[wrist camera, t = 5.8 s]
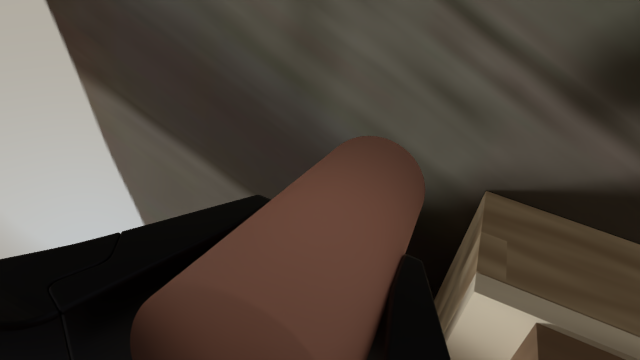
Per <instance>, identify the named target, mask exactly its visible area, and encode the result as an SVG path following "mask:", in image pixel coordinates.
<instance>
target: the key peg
mask: <svg viewBox="0 0 640 360" xmlns="http://www.w3.org/2000/svg"><path fill="white" fill-rule="evenodd" d="M424 198H425V183H424V178H423V175H422V172H421V169H420V167H419V165H418V164H417V162H416V161H415V159H414V158H413V157H412V156H411V154H410V153H409V152H408V151H406V150H405V149H404V148H403V147H401V146H400V145H398V144H397V143H395V142H393V141H391V140H388V139H385V138H381V137H377V136H362V137H356V138H353V139H350V140H348V141H346V142H344V143H342V144H341V145H339V146H338V147H337V148H336V149H334V150H333V151H332V152H331V153H329V154H328V155H327V156H326V157H324V158H323V159H322V160H321V161H319V162H318V163H317V164H316V165H314V166H313V167H312V168H311V169H309V170H308V171H307V172H306V173H304V174H303V175H302V176H301V177H299V178H298V179H297V180H296V181H294V182H293V183H292V184H291V185H289V186H288V187H287V188H286V189H284V190H283V191H282V192H281V193H279V194H278V195H277V196H276V197H274V198H273V199H272V200H271V201H269V202H268V203H267V204H266V205H264V206H263V207H262V208H261V209H260V210H258V211H257V212H256V213H255V214H253V215H252V216H251V217H250V218H248V219H247V220H246V221H245V222H243V223H242V224H241V225H240V226H238V227H237V228H236V229H235V230H233V231H232V232H231V233H230V234H228V235H227V236H226V237H225V238H223V239H222V240H221V241H220V242H218V243H217V244H216V245H215V246H213V247H212V248H211V249H210V250H208V251H207V252H206V253H205V254H203V255H202V256H201V257H200V258H198V259H197V260H196V261H195V262H193V263H192V264H191V265H190V266H188V267H187V268H186V269H185V270H183V271H182V272H181V273H180V274H178V275H177V276H176V277H175V278H173V279H172V280H171V281H170V282H168V283H167V284H166V285H165V286H163V287H162V288H161V289H160V290H158V291H157V292H156V293H155V294H153V295H152V296H151V297H150V298H149V299H148V300H147V301H146V302H144V303H143V304H142V306H141V307H140V309H139V310H138V312H137V314H136V316H135V318H134V320H133V324H132V328H131V335H130V348H131V356H132V360H367V358H368V355H369V353H370V350H371V347H372V344H373V342H374V339H375V336H376V333H377V330H378V328H379V325H380V322H381V319H382V317H383V314H384V310H385V307H386V303H387V300H388V296H389V293H390V290H391V287H392V284H393V281H394V279H395V276H396V273H397V271H398V268H399V265H400V263H401V260H402V257H403V255H405V253H406V250H407V247H408V244H409V242H410V239H411V236H412V233H413V230H414V228H415V225H416V222H417V219H418V216H419V214H420V211H421V208H422V205H423V202H424Z"/></svg>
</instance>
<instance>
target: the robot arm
mask: <svg viewBox="0 0 640 360" xmlns="http://www.w3.org/2000/svg"><path fill="white" fill-rule="evenodd" d="M269 201H271V199H269V198H266V197H264V196H261V195H255V196H251V197H247V198H244V199H240V200H236V201H233V202H229V203H225V204H222V205H218V206H214V207H211V208H207V209H203V210H200V211H196V212H192V213H189V214H185V215H181V216H178V217H174V218H170V219H167V220H163V221H159V222H156V223H152V224H148V225H145V226H141V227H138V228H133V229H130V230H126V231H123V232H122V233H121V234H120V233H115V234H112V235H108V236H104V237H100V238H96V239H92V240H88V241H85V242H80V243H76V244H72V245H68V246H63V247H58V248H54V249H49V250H44V251H40V252H34V253H29V254H24V255H20V256H14V257H9V258H5V259H0V360H132V356H131V348H130V335H131V328H132V324H133V320H134V318H135V316H136V314H137V312H138V310H139V309H140V307H141V306H142V304H143V303H144V302H146V301H147V300H148V299H149V298H150V297H151V296H152V295H153V294H155V293H156V292H157V291H158V290H160V289H161V288H162V287H163V286H165V285H166V284H167V283H168V282H170V281H171V280H172V279H173V278H175V277H176V276H177V275H178V274H180V273H181V272H182V271H183V270H185V269H186V268H187V267H188V266H190V265H191V264H192V263H193V262H195V261H196V260H197V259H198V258H200V257H201V256H202V255H203V254H205V253H206V252H207V251H208V250H210V249H211V248H212V247H213V246H215V245H216V244H217V243H218V242H220V241H221V240H222V239H223V238H225V237H226V236H227V235H228V234H230V233H231V232H232V231H233V230H235V229H236V228H237V227H238V226H240V225H241V224H242V223H243V222H245V221H246V220H247V219H248V218H250V217H251V216H252V215H253V214H255V213H256V212H257V211H258V210H260V209H261V208H262V207H263V206H264V205H266V204H267V203H268V202H269ZM367 360H451V358H450V355H449V351H448V348H447V344H446V341H445V338H444V334H443V331H442V327H441V324H440V320H439V317H438V313H437V310H436V307H435V303H434V300H433V296H432V293H431V289H430V286H429V282H428V279H427V276H426V272H425V269H424V265H423V262H422V261H421V260H420V259H417V258H415V257H412V256H410V255H407V254H405V255H403V257H402V260H401V263H400V265H399V268H398V271H397V273H396V276H395V279H394V281H393V284H392V287H391V290H390V293H389V296H388V300H387V303H386V307H385V310H384V314H383V317H382V319H381V322H380V325H379V328H378V330H377V333H376V336H375V339H374V342H373V344H372V347H371V350H370V353H369V355H368V358H367Z"/></svg>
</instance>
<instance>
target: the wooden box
mask: <svg viewBox="0 0 640 360" xmlns="http://www.w3.org/2000/svg"><path fill="white" fill-rule="evenodd" d="M476 272H477V273H480V274H482V275H485V276H487V277H490V278H492V279H495V280H497V281H500V282H502V283H505V284H507V285H510V286H512V287H515V288H517V289H520V290H522V291H525V292H527V293H530V294H532V295H535V296H537V297H540V298H542V299H545V300H547V301H550V302H552V303H555V304H557V305H560V306H562V307H565V308H567V309H570V310H572V311H575V312H577V313H580V314H582V315H585V316H587V317H590V318H592V319H595V320H597V321H600V322H602V323H605V324H607V325H610V326H612V327H615V328H617V329H620V330H622V331H625V332H627V333H630V334H632V335H635V336H637V337H640V244H637V243H634V242H631V241H628V240H625V239H622V238H620V237H617V236H614V235H611V234H608V233H605V232H602V231H600V230H597V229H594V228H591V227H588V226H585V225H582V224H580V223H577V222H574V221H571V220H568V219H565V218H562V217H560V216H557V215H554V214H551V213H548V212H545V211H542V210H539V209H537V208H534V207H531V206H528V205H525V204H522V203H519V202H517V201H514V200H511V199H508V198H505V197H502V196H499V195H497V194H494V193H491V192H488V191H486V192H485V194H484V196H483V198H482V200H481V202H480V205H479V207H478V209H477V211H476V213H475V215H474V217H473V219H472V221H471V224H470V226H469V228H468V230H467V232H466V234H465V236H464V238H463V240H462V243H461V245H460V247H459V249H458V251H457V253H456V255H455V257H454V260H453V262H452V264H451V266H450V268H449V270H448V272H447V274H446V276H445V279H444V281H443V283H442V285H441V287H440V289H439V291H438V293H437V296H436V298H435V300H434V303H435V307H436V310H437V313H438V317H439V320H440V324H441V327H442V331H443V334H444V333H445V331H446V329H447V327H448V325H449V323H450V322H451V320H452V318H453V316H454V314H455V312H456V310H457V308H458V306H459V304H460V302H461V301H462V299H463V297H464V295H465V293H466V291H467V289H468V287H469V285H470V283H471V281H472V280H473V278H474V276H475V274H476Z"/></svg>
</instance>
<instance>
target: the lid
mask: <svg viewBox="0 0 640 360" xmlns="http://www.w3.org/2000/svg"><path fill="white" fill-rule="evenodd" d="M444 338H445V341H446V344H447V348H448V351H449V355H450V358H451V360H640V337H637V336H635V335H632V334H630V333H627V332H625V331H622V330H620V329H617V328H615V327H612V326H610V325H607V324H605V323H602V322H600V321H597V320H595V319H592V318H590V317H587V316H585V315H582V314H580V313H577V312H575V311H572V310H570V309H567V308H565V307H562V306H560V305H557V304H555V303H552V302H550V301H547V300H545V299H542V298H540V297H537V296H535V295H532V294H530V293H527V292H525V291H522V290H520V289H517V288H515V287H512V286H510V285H507V284H505V283H502V282H500V281H497V280H495V279H492V278H490V277H487V276H485V275H482V274H480V273H477V272H476V274H475V276H474V278H473V280H472V281H471V283H470V285H469V287H468V289H467V291H466V293H465V295H464V297H463V299H462V301H461V302H460V304H459V306H458V308H457V310H456V312H455V314H454V316H453V318H452V320H451V322H450V323H449V325H448V327H447V329H446V331H445V333H444Z"/></svg>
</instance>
